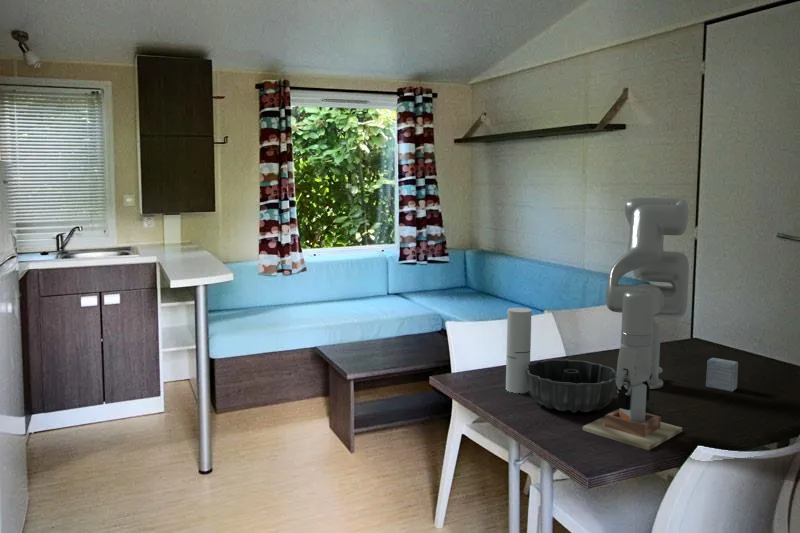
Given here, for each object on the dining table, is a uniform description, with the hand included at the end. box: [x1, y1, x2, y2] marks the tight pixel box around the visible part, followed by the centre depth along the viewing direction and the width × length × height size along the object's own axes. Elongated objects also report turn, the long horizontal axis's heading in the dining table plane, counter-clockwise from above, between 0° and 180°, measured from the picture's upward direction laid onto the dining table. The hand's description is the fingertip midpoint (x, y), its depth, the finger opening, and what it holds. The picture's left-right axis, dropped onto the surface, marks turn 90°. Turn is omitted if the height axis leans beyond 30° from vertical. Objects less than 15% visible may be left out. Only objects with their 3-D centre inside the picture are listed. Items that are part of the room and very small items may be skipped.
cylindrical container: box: [505, 307, 533, 394], centre depth 208 cm, size 7×7×25 cm
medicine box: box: [705, 357, 739, 392], centre depth 211 cm, size 8×4×9 cm, turn 47°
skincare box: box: [619, 381, 647, 423], centre depth 175 cm, size 6×4×12 cm
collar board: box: [582, 408, 683, 451], centre depth 176 cm, size 18×18×4 cm
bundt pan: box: [524, 358, 617, 414], centre depth 197 cm, size 26×26×10 cm
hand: (633, 404), depth 175 cm, fingers open, 9 cm apart
